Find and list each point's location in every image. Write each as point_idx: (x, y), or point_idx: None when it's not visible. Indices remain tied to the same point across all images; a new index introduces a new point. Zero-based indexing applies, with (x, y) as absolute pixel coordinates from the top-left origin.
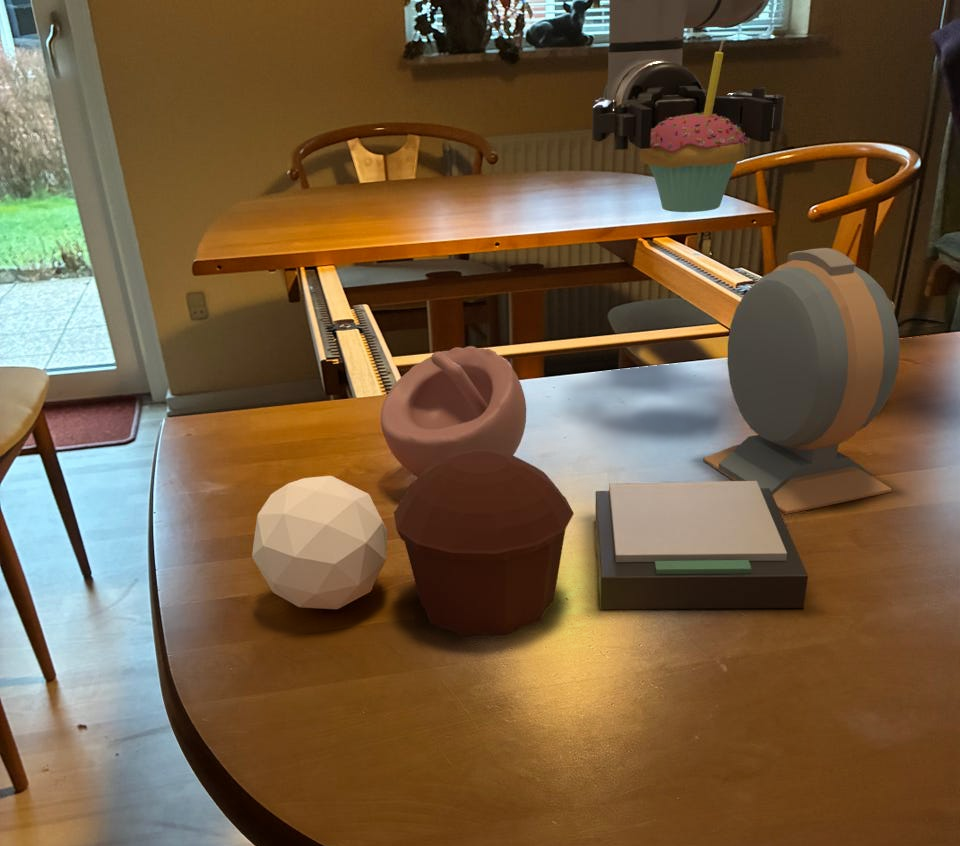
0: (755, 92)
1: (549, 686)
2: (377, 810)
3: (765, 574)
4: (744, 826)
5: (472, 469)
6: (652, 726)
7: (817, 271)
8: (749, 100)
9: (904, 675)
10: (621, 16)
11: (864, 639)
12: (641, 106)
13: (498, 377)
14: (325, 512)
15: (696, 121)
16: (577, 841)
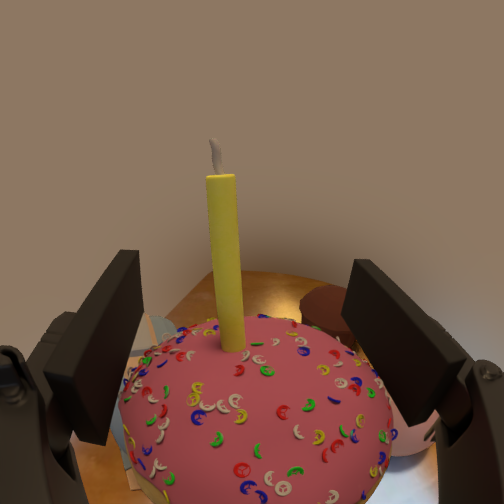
0: (25, 362)
1: (292, 310)
2: (320, 286)
3: None
4: (244, 280)
5: (338, 288)
6: (263, 299)
7: (148, 319)
8: (101, 321)
9: (187, 307)
10: None
11: (191, 320)
12: (399, 297)
13: (387, 393)
14: None
15: (265, 322)
16: (278, 280)
